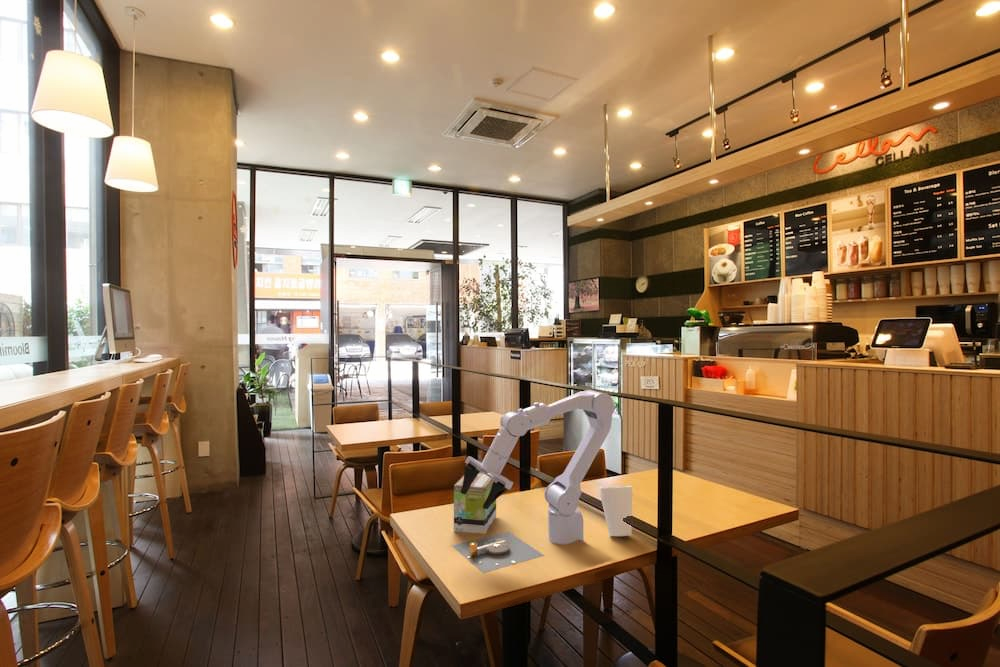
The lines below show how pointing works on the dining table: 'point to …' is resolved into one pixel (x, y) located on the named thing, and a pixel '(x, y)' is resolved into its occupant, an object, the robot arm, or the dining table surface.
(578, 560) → the dining table surface
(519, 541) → the panel
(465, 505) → the tea box
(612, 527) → the foam cup
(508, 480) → the robot arm
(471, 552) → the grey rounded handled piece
